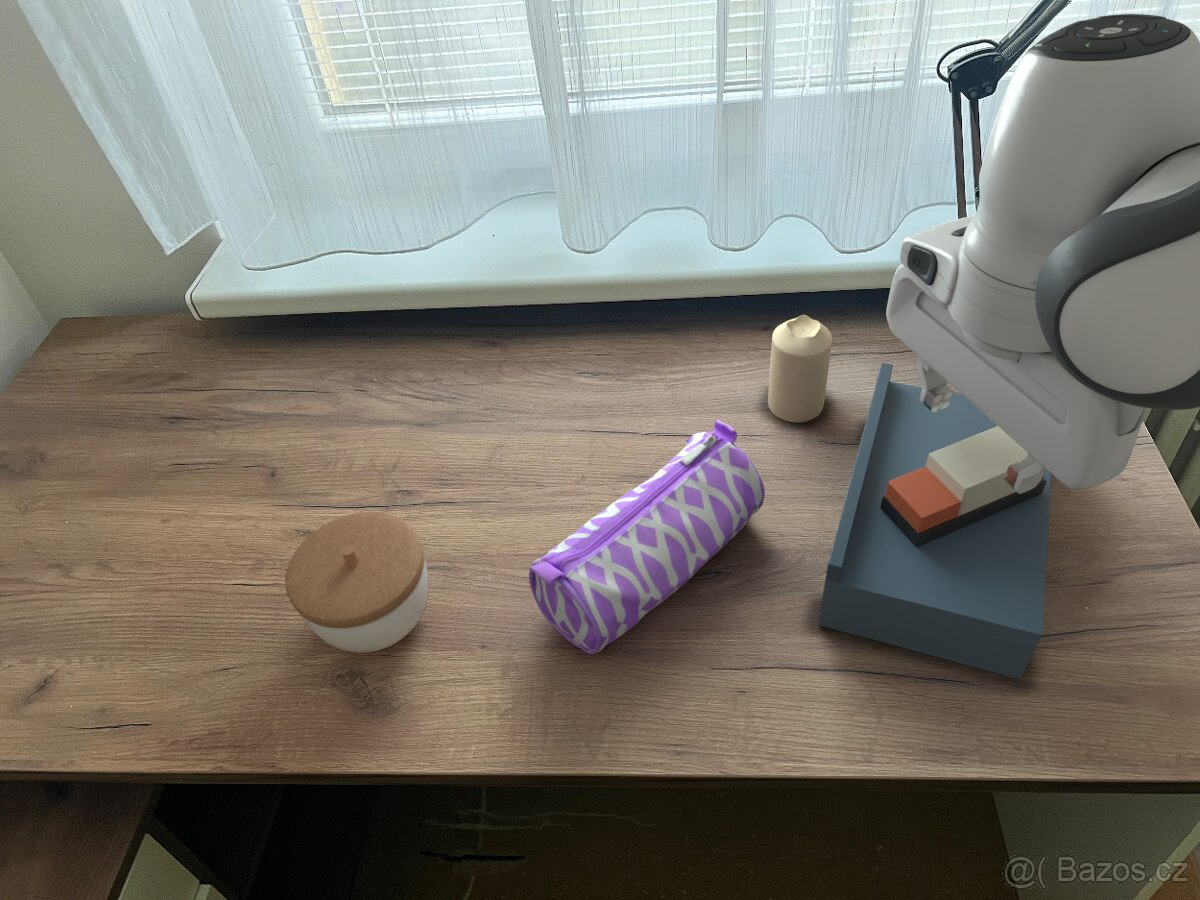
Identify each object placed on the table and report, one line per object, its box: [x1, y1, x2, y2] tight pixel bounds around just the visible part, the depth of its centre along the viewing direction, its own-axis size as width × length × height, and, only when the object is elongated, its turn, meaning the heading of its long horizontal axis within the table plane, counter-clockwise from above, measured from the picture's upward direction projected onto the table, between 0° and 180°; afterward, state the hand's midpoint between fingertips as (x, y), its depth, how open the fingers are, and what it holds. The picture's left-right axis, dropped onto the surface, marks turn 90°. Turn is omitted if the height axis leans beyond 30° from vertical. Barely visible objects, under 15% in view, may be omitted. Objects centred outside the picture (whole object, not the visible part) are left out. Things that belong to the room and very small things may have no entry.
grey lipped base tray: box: [817, 362, 1053, 680], centre depth 72 cm, size 15×24×8 cm, turn 158°
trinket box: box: [284, 511, 430, 654], centre depth 70 cm, size 11×11×9 cm
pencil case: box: [528, 419, 766, 655], centre depth 72 cm, size 22×9×10 cm, turn 136°
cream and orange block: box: [880, 426, 1047, 547], centre depth 68 cm, size 12×5×5 cm, turn 113°
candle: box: [767, 314, 833, 423], centre depth 84 cm, size 6×6×10 cm
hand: (974, 443), depth 65 cm, fingers open, 8 cm apart
